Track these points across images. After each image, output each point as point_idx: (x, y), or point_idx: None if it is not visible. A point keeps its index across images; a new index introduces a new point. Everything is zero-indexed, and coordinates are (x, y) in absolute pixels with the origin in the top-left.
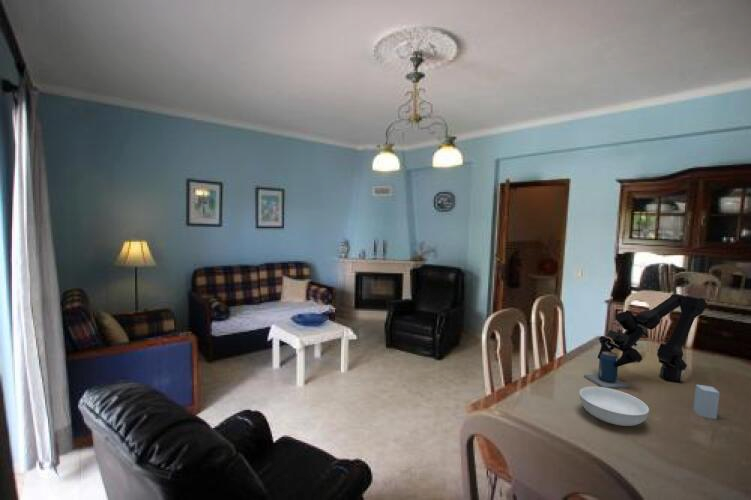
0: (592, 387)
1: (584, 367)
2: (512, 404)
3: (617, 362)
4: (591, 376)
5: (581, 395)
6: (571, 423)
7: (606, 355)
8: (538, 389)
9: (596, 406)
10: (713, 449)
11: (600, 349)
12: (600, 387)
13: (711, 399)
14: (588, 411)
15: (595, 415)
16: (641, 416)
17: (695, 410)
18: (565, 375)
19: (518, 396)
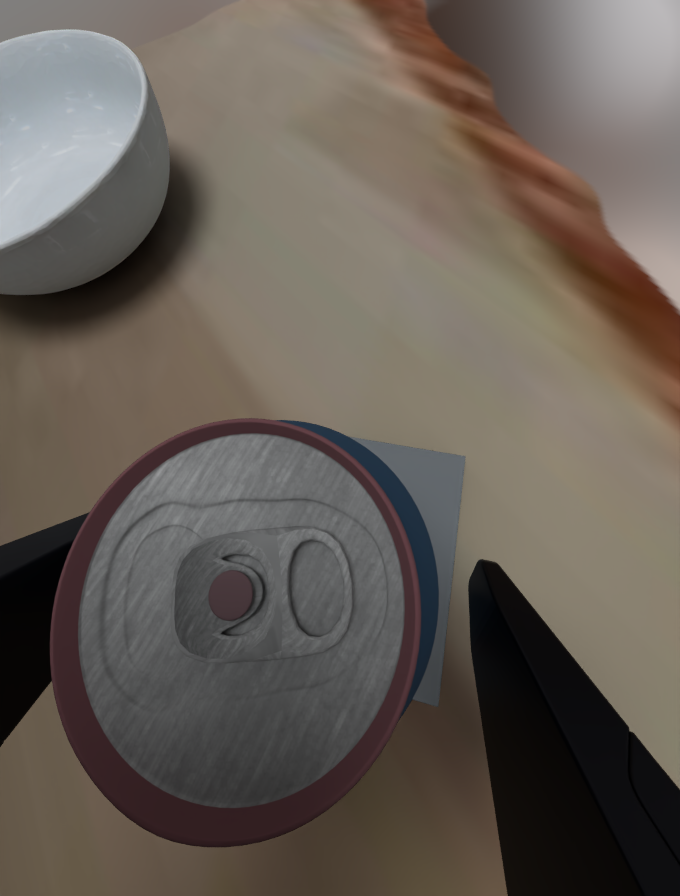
0: (130, 136)
1: (660, 667)
2: (308, 6)
3: (81, 515)
4: (423, 487)
5: (101, 35)
6: None
7: (208, 427)
8: (381, 123)
9: (18, 40)
10: None
11: (671, 783)
12: (104, 172)
13: None
14: (107, 117)
15: (75, 117)
16: None
17: None
18: (510, 354)
19: (351, 38)
